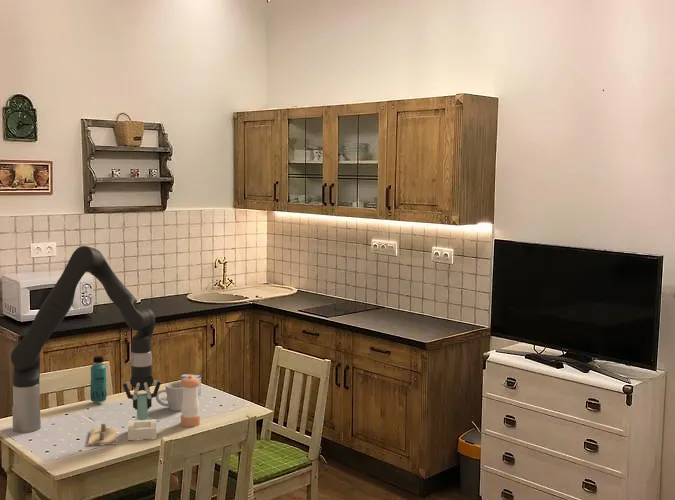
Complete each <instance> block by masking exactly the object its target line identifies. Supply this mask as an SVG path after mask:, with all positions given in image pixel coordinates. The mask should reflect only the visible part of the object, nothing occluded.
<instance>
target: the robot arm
mask: <svg viewBox="0 0 675 500" xmlns="http://www.w3.org/2000/svg"><path fill="white" fill-rule="evenodd" d="M85 273H89V274H90V275H92V276H93V277H95V278H96V279H97V280H98V281H99V283H101V285H102V286H103V289H104V291H105V293H106V294H107V296H108V298H109V299H110V301H111V302H112V303H113V304H114V305H115V306H116V308H117V309H118V310H119V311H120V314H121V316H122V318H123V320H124V322H125V324H126V325H127V326H128V327H129V328H130V329H132V331H133V330H134V331H137V333H136V334H135V335H133V336H132V338H131V355H130V369H131V370H130V376H131V377H130V379H129V381H124V382H123V383H122V386H123V390H124V392H125V394H126V397H127V399H129V400H130V399H131V400H132V408H133V409H134V410H136V411H137V394H138V393H139V392H140V391H144V392H145V393H147V396H148V410H149V409H150V408H152V405H153V404H152V403H153V402H152V399H154V398H156V396H157V393H158V391H160V387H161V383H162V382H161V380H160V379H158V380H156V379H154V377H153V354H152V353H153V352H152V339H153V334H154V330H155V325H156V317H155V316H156V315H155V314H154V311H153V310H152V309H150V308H140V309H136V306H137V303H138V302H137V298H136V297H135V295H133V293H132V292H131V291H130V290H129V289H128V288H127V287H126V286H125V284H124V283H123V282H122V281H121V280H120V279H119V278H118V276H117V275H116V274H115V271H113V269H112V268H111V267H110V265H109V263H108V261H107V259H106V258H105V257H104V254H103V253H102V252H101V250H98V249H96V248H95V247H91V246H87V245H81V246H79V247H77V248H76V249H75V250H74V251H73V252H72V254H71V256H70V258H69V260H68V262H67V264H66V265H65V268H64V270H63V271H62V273H61V275H60V276H59V278H58V280H57V282H55V284H54V286H53V288H52V289H51V291H50V292H49V294H48V295H47V297H46V298H45V299H44V301H43V302H42V304H41V306H40V307H39V310H38V311H37V313H36V315H35V317H34V319H33V321H32V323H31V325H30V327H29V329H28V331H27V332H26V334H25V335H24V336H23V337H22V339H21V340H20V341H19V342H18V343H17V344H16V345H15V346H14V348H13V349H12V351H11V352H10V361H11V363H12V365H13V374H12V394H13V395H12V396H13V397H12V402H13V405H12V407H11V409H12V410H11V411H12V432H13V433H14V432H15V433H31V432H35V431H37V430H39V429H41V427H42V426H41V423H42V422H41V391H40V388H41V387H40V375H41V351H42V349H43V347H44V346H45V343H46V342H47V341H48V340H49V338H50V336H51V335H52V334H53V333H54V332H55V330H56V329H57V328H58V327H59V326H60V325H61V323H62V322H63V320H64V318H65V317H66V316H67V314H68V313H69V311H70V310H71V308H72V306H73V304H74V299H75V295H76V290H77V286H78V284H79V282H80V281H81V279H82V278H83V277H84V275H85ZM130 385H131V386H132V387H133V388H134V390H133V394H132V393H131V391H130ZM152 385H153V386H154V387H155V388H154V390H153V392H152V393H151V389H150V388H151V386H152Z"/></svg>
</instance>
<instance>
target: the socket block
mask: <svg viewBox="0 0 675 500" xmlns="http://www.w3.org/2000/svg"><path fill="white" fill-rule="evenodd" d="M127 422H128V425H127V426H128V427H127V441H128V440H134V441H138V440H137V439H149V440H153V439H152V438H156V439H157V419H156V418H155V419H153V418H152V419H145V420H138V419H137V420H129V421H127Z"/></svg>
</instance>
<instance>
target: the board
mask: <svg viewBox="0 0 675 500" xmlns="http://www.w3.org/2000/svg"><path fill="white" fill-rule="evenodd" d="M100 426H101V427H99V428H90V429H91V430H90V435H89V439H88V442H87V443H88V446H87V447H90V446H89V445H98V446H101V445H100V444H112V445H114V444H113V443H115V444H116V438H117V437H116V436H117V427H116V426H114V427H112V426H111V427H106V423H101V424H100ZM115 437H116V438H115Z"/></svg>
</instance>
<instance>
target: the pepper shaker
mask: <svg viewBox="0 0 675 500" xmlns="http://www.w3.org/2000/svg"><path fill="white" fill-rule="evenodd" d="M191 375H192V374H190V376H188V377H186V378H184V379H183V380H182V381H181V380H180V381H181V384H182V386H183V401H182V411H181V415H180V425H181V426H182V427H185V428H192V427H193V428H194V427H198V426H200V424H201V415H200V403H199V396H198V385H199V383H200V382H199V379H198V378H196V377H192V376H191Z"/></svg>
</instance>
